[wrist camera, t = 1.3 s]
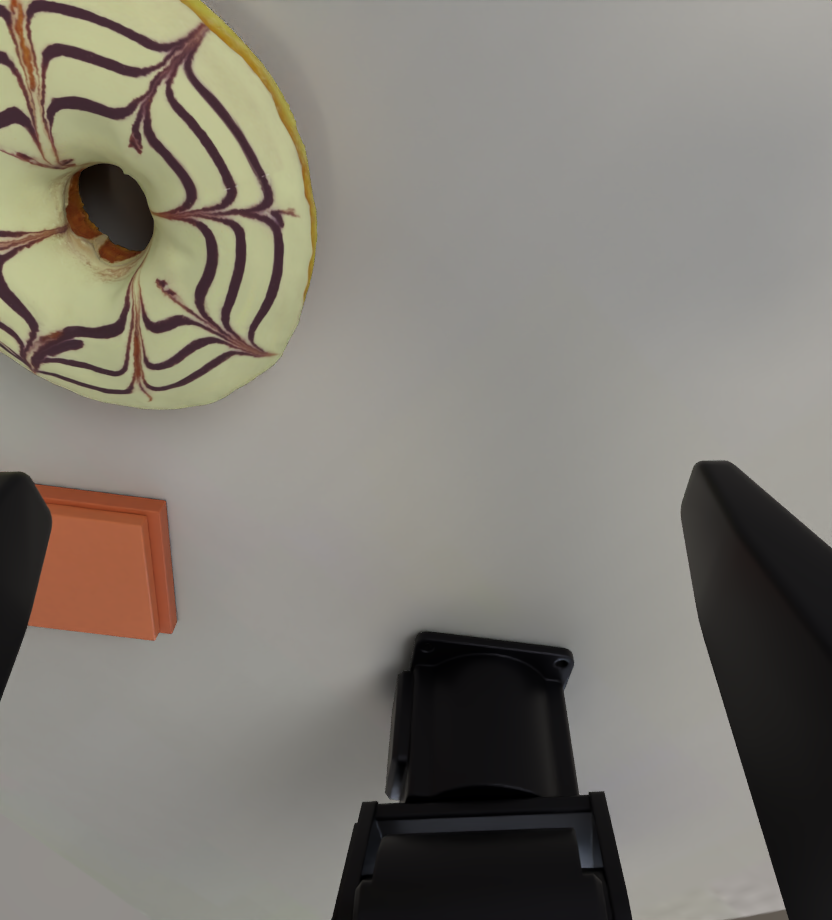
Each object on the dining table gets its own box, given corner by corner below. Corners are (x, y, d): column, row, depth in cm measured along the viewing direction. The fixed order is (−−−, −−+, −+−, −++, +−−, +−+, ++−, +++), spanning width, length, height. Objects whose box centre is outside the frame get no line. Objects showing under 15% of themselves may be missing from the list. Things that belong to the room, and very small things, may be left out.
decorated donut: (34, 377, 23) (-32, 440, 20) (-142, -21, 17) (-275, -18, 14) (352, 357, 22) (334, 421, 19) (284, -72, 16) (242, -81, 13)
